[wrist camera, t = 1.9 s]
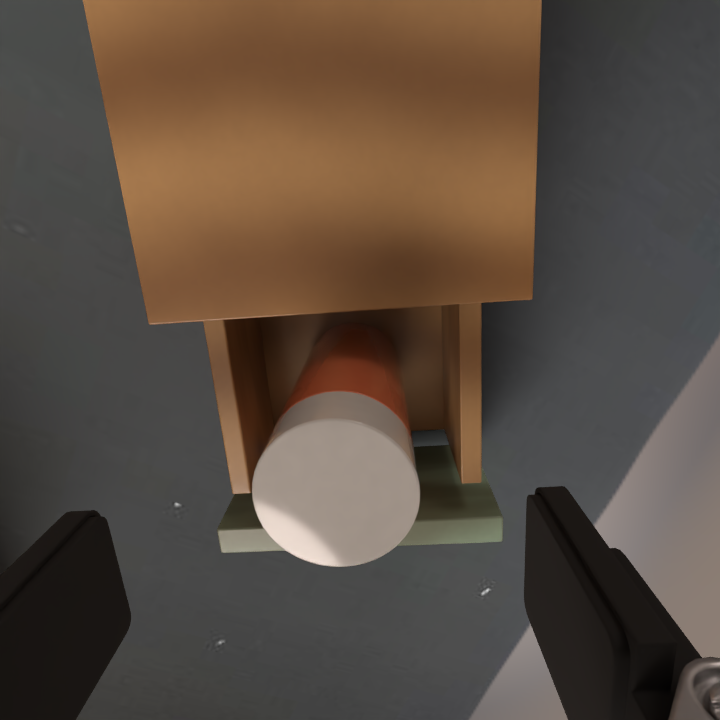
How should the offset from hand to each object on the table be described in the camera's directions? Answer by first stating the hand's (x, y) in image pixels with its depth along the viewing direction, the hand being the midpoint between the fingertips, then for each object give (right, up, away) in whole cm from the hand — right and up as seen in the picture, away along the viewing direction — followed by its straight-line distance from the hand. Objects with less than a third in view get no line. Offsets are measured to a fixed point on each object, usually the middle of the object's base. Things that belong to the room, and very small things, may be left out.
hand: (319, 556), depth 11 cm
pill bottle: (+1, +4, +12) cm, 13 cm away
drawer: (+1, +4, +14) cm, 14 cm away
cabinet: (0, +15, +11) cm, 19 cm away
